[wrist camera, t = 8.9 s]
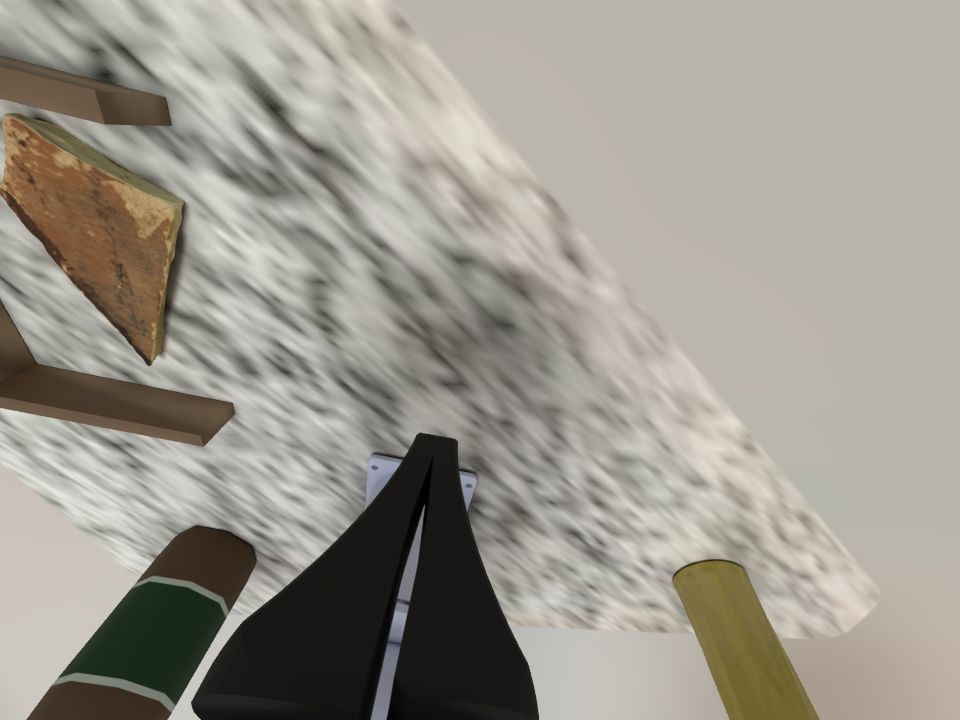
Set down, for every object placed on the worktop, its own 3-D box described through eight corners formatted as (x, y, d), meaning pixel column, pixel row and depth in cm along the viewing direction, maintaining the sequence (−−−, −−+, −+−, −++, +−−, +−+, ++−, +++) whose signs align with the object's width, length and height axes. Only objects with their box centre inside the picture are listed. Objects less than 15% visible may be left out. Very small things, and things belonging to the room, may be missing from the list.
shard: (169, 354, 23) (145, 370, 21) (32, 287, 21) (-6, 299, 19) (201, 204, 17) (172, 211, 16) (21, 95, 15) (-32, 91, 14)
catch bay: (234, 414, 24) (203, 446, 22) (27, 373, 23) (-30, 402, 21) (164, 97, 15) (94, 90, 12) (-193, 6, 14) (-349, -21, 11)
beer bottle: (249, 576, 37) (-54, 1099, 17) (171, 550, 35) (-277, 1108, 15) (269, 545, 34) (-87, 1166, 13) (183, 513, 31) (-389, 1190, 11)
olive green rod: (724, 597, 34) (846, 854, 22) (661, 589, 34) (748, 842, 22) (759, 563, 30) (925, 845, 18) (689, 555, 30) (809, 832, 18)
